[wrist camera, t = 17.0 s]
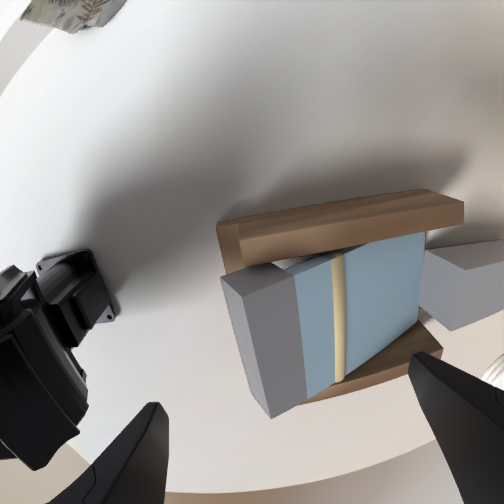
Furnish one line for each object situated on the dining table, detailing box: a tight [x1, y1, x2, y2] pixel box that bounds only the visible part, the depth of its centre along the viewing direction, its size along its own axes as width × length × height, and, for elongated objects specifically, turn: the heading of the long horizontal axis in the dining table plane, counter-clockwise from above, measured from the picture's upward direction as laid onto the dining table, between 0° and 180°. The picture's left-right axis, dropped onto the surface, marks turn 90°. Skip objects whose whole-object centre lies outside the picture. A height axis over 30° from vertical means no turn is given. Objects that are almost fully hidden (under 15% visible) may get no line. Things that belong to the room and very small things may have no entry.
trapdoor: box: [220, 232, 425, 419], centre depth 19 cm, size 10×16×3 cm, turn 100°
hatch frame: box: [216, 189, 464, 405], centre depth 20 cm, size 14×16×5 cm
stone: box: [417, 240, 504, 331], centre depth 19 cm, size 5×5×12 cm
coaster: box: [480, 355, 504, 390], centre depth 29 cm, size 10×10×4 cm
